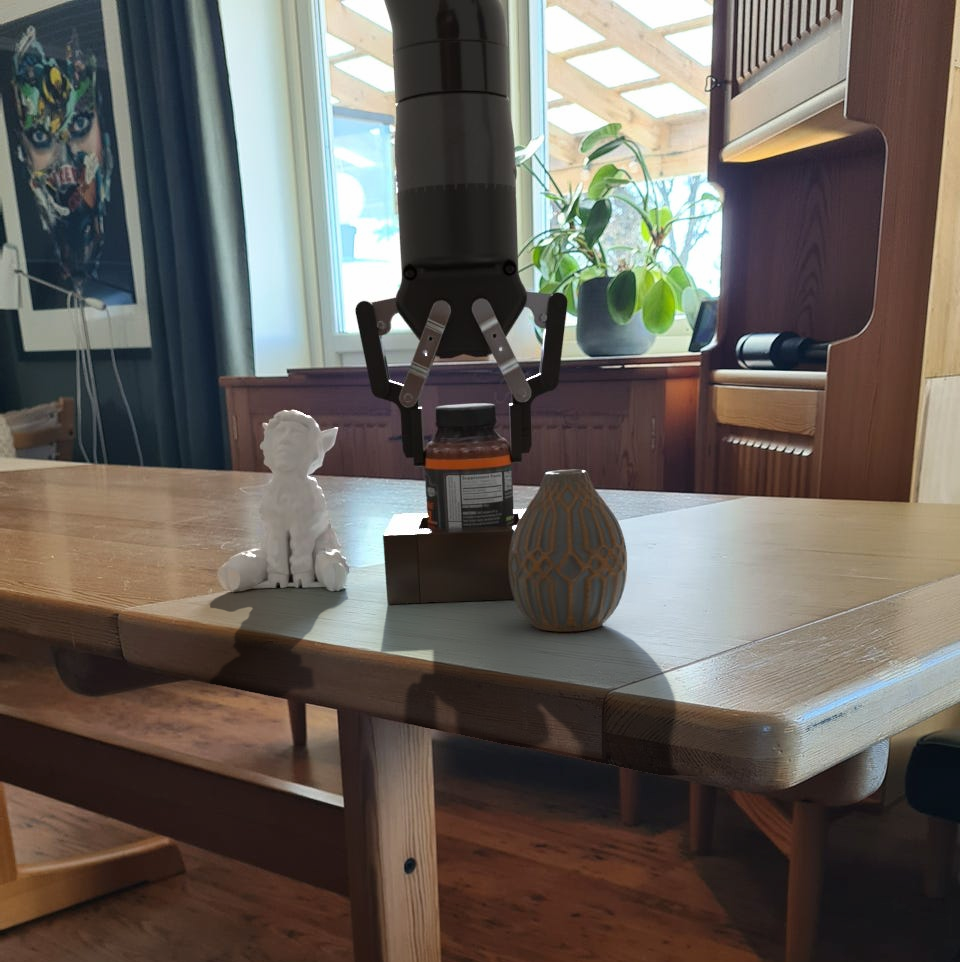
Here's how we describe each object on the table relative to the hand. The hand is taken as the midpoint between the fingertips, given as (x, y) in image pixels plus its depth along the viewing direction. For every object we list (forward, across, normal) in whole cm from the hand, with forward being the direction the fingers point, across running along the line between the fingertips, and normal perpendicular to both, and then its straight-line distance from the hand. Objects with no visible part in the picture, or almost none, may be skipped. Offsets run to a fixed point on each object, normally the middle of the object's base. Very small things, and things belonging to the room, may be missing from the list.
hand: (468, 462), depth 87 cm
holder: (+8, 0, 0) cm, 8 cm away
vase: (+9, +6, -15) cm, 18 cm away
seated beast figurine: (+8, -13, +5) cm, 16 cm away
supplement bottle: (+8, 0, 0) cm, 8 cm away
